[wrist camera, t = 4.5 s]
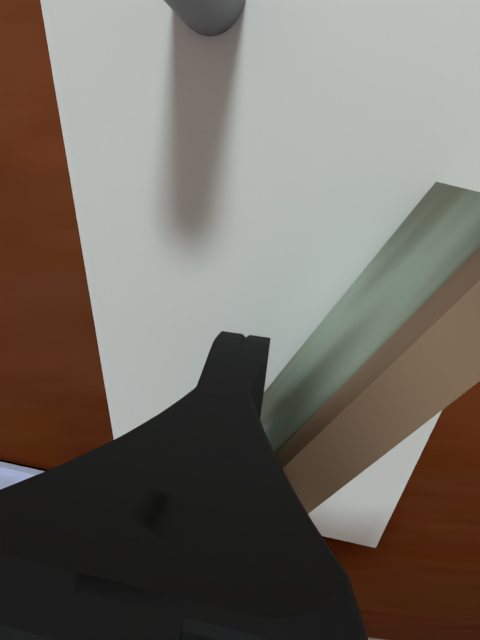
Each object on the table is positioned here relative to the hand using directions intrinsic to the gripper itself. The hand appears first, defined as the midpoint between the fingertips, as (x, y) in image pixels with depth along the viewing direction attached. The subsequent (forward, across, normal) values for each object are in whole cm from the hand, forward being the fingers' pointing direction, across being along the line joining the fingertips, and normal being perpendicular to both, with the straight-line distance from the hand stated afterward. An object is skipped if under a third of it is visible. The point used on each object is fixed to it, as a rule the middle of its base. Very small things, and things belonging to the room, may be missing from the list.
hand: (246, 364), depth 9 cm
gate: (+1, -1, +2) cm, 2 cm away
